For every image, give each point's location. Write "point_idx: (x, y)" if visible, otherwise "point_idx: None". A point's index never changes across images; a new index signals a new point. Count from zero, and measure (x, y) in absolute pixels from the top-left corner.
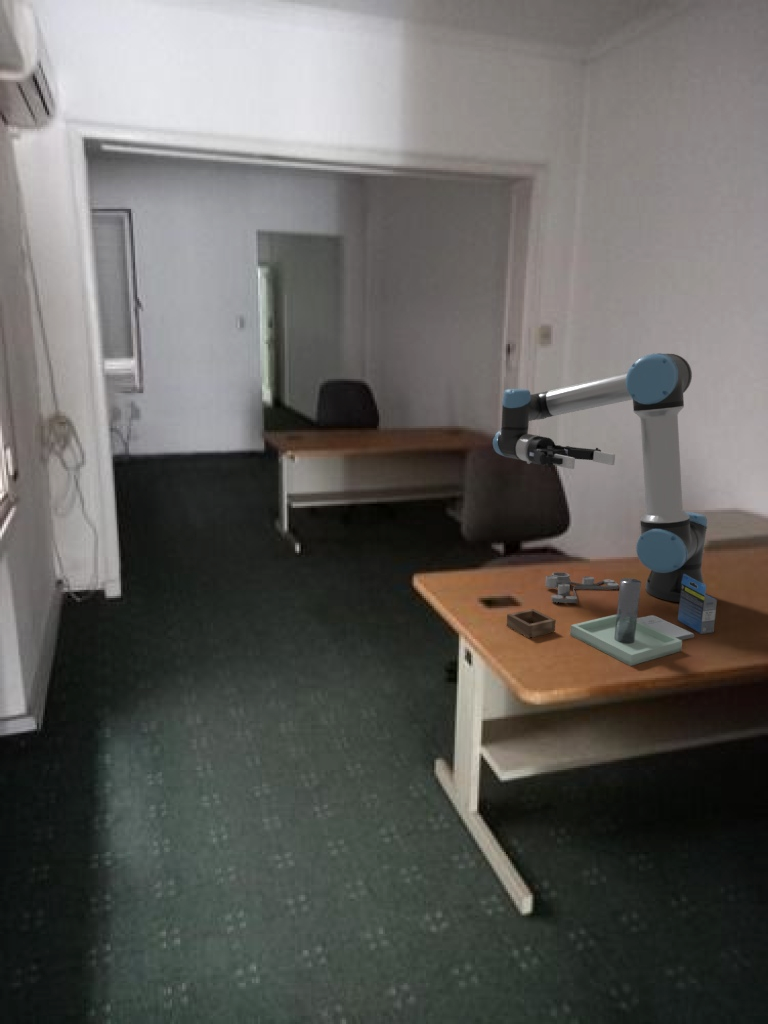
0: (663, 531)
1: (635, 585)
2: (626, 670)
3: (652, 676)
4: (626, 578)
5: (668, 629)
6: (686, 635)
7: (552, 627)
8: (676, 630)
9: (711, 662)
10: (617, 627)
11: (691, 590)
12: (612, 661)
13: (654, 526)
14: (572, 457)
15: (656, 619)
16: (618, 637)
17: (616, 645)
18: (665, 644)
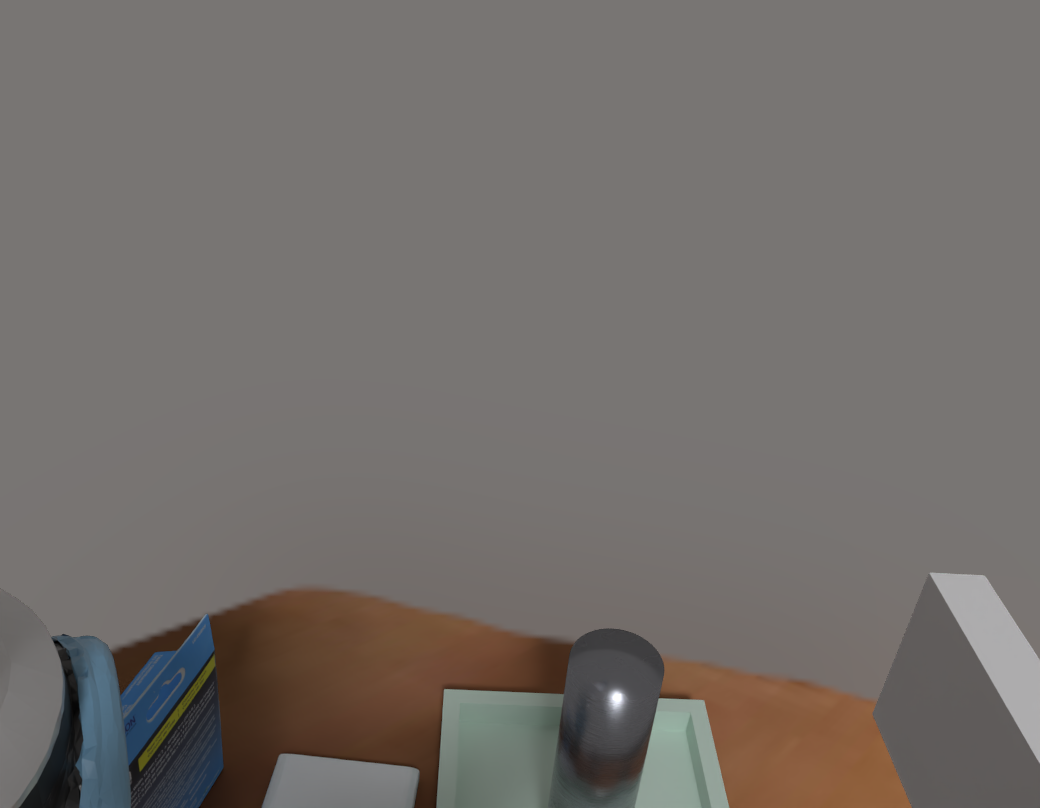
0: (104, 665)
1: (626, 634)
2: (728, 716)
3: (676, 662)
4: (604, 694)
5: None
6: (322, 757)
7: None
8: (311, 800)
9: (430, 636)
10: None
11: (167, 721)
12: (734, 775)
13: (69, 719)
14: (960, 615)
15: None
16: None
17: (704, 768)
18: (526, 697)
